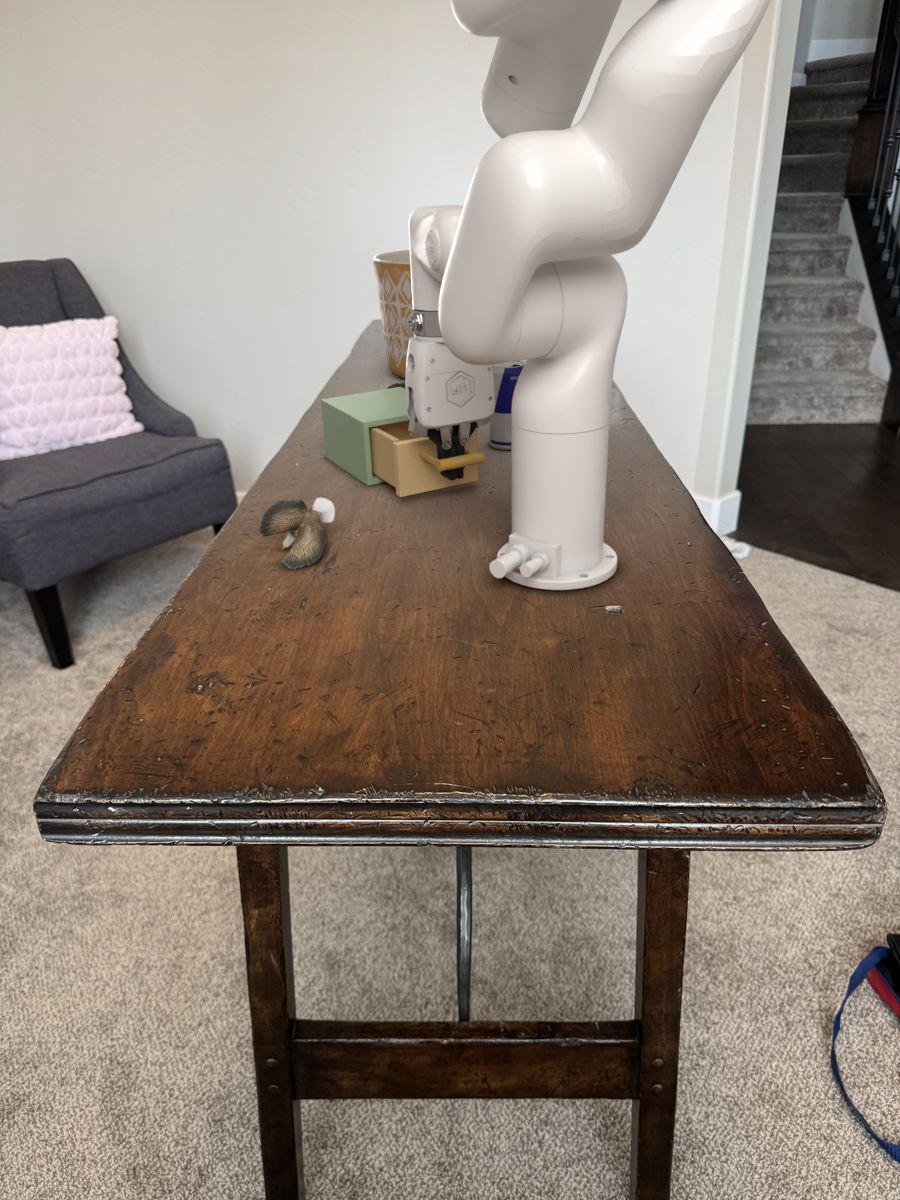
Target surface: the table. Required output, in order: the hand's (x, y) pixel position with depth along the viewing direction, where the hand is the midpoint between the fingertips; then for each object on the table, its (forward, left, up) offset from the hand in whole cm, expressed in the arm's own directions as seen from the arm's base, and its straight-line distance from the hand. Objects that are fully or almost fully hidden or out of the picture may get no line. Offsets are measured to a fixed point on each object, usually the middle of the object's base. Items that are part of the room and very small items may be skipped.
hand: (451, 476), depth 110 cm
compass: (+24, +31, -4) cm, 39 cm away
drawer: (+3, +6, -3) cm, 7 cm away
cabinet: (+8, +18, -4) cm, 19 cm away
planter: (+59, +46, -4) cm, 74 cm away
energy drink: (+24, +8, -4) cm, 25 cm away
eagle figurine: (-21, +6, -4) cm, 22 cm away
